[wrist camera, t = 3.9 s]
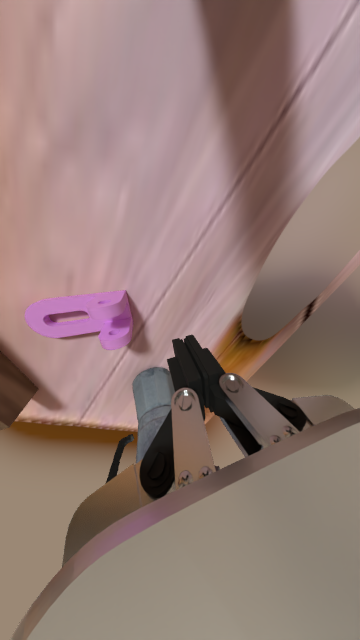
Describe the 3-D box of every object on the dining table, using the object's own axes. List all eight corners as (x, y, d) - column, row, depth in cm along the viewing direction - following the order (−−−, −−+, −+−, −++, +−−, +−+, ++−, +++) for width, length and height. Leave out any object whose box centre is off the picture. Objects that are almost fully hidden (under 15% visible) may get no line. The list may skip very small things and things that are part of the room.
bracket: (125, 289, 20) (119, 305, 14) (133, 322, 23) (130, 346, 17) (23, 301, 18) (-39, 325, 12) (45, 335, 20) (3, 370, 14)
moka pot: (188, 382, 33) (239, 522, 16) (128, 406, 32) (111, 593, 14) (178, 355, 28) (236, 512, 11) (107, 382, 27) (45, 617, 10)
